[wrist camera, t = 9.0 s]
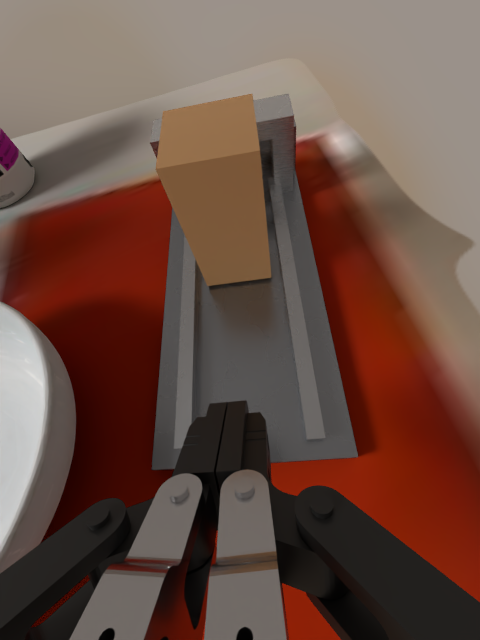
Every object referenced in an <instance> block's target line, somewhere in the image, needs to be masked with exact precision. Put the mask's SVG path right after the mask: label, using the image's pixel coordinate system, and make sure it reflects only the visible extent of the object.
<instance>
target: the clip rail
mask: <svg viewBox="0 0 480 640" xmlns="http://www.w3.org/2000/svg"><path fill="white" fill-rule="evenodd" d="M253 103H254V110H255V118H256V125H257V132H258V139H259V147H260V156H261V167H262V178H263V189H264V200H265V211H266V222H267V233H268V244H269V255H270V266H271V277H272V278H265V279H258V280H250V281H242V282H235V283H227V284H220V285H212V286H207V284H206V282H205V280H204V277H203V275H202V273H201V271H200V268H199V266H198V264H197V261H196V259H195V257H194V255H193V252H192V250H191V248H190V246H189V243H188V241H187V239H186V237H185V234H184V232H183V230H182V228H181V225H180V223H179V221H178V218H177V216H176V214H175V212H174V209H173V207H172V220H171V232H170V245H169V258H168V270H167V283H166V295H165V308H164V321H163V333H162V346H161V358H160V371H159V383H158V396H157V409H156V421H155V434H154V446H153V459H152V470H169V469H175V466H176V463H177V460H178V457H179V455H180V452H181V449H182V446H183V443H184V440H185V438H186V435H187V432H188V429H189V426H190V425H191V424H192V423H193V422H194V420H195V419H196V418H197V417H206V414H207V410H208V407H209V404H210V403H220V402H233V401H244V400H246V401H247V404H248V410H249V413H255V412H260V413H261V414H262V416H263V417H264V418H265V420H266V426H267V434H268V441H269V448H270V463H280V462H296V461H312V460H328V459H344V458H356V457H358V453H357V449H356V444H355V440H354V435H353V431H352V426H351V421H350V417H349V412H348V408H347V403H346V399H345V394H344V390H343V385H342V381H341V376H340V371H339V367H338V362H337V358H336V353H335V349H334V344H333V340H332V335H331V330H330V326H329V321H328V317H327V312H326V308H325V303H324V299H323V294H322V290H321V285H320V280H319V276H318V271H317V267H316V262H315V258H314V253H313V249H312V244H311V240H310V235H309V230H308V226H307V221H306V217H305V212H304V208H303V203H302V199H301V194H300V190H299V185H298V180H297V176H296V171H295V155H296V124H295V120H294V114H293V110H292V106H291V102H290V98H289V94H284V95H279V96H274V97H269V98H264V99H259V100H254V101H253ZM161 124H162V119H157V120H153V127H152V133H151V140H150V144H151V146H152V148H153V151H154V153H155V155H156V158H157V155H158V147H159V139H160V132H161Z"/></svg>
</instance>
